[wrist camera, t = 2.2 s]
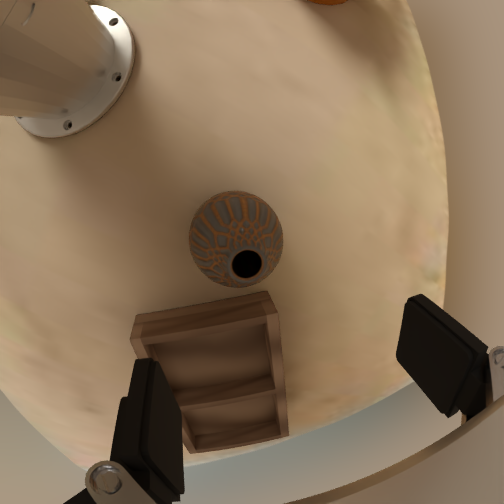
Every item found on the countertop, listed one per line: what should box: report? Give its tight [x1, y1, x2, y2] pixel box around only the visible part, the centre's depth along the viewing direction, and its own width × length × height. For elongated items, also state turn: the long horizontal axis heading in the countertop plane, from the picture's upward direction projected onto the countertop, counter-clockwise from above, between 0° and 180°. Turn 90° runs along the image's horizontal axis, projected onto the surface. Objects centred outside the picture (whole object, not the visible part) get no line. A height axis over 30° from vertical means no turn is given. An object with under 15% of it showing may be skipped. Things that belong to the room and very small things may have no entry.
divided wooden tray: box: [130, 291, 289, 454], centre depth 29 cm, size 20×13×4 cm, turn 8°
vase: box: [189, 191, 283, 288], centre depth 21 cm, size 7×7×9 cm
